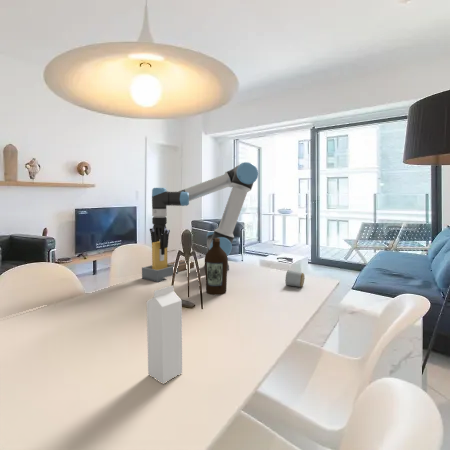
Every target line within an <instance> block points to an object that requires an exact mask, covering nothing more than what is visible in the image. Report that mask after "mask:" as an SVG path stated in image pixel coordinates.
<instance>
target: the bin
mask: <svg viewBox="0 0 450 450" xmlns="http://www.w3.org/2000/svg"><path fill="white" fill-rule="evenodd" d="M173 267H174V265H173V264H167V268H164V269H160V270H155V269H152V264H151V265H148V266H143V267H141V279H143V280H146V281H150V282H156V283H161V282H163V281H167V280H168V278H169V277H171V276H174V275H173ZM178 274H179V272H178V268H177V272H176V274H175V275H178Z"/></svg>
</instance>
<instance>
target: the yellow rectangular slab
mask: <svg viewBox="0 0 450 450" xmlns="http://www.w3.org/2000/svg"><path fill="white" fill-rule="evenodd" d="M159 249H160V241H159V242H153V243H152V242H151V258H152V259H151V260H152V261H151V262H152V263H151V265H152V269H155V270H160V269H164V268H167V263H168V247H167V248H165V255H164V260H163V261H160V258H159Z"/></svg>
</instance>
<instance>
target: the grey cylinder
mask: <svg viewBox="0 0 450 450" xmlns="http://www.w3.org/2000/svg"><path fill="white" fill-rule="evenodd" d="M284 280H285V283H284V284H285V286H290V287H298V288H301V287H302V288H303V286H304V284H305V274H304V272H301V271H297V270H291V269H288V270H287V271H286V274H285V279H284Z"/></svg>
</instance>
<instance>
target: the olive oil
mask: <svg viewBox="0 0 450 450" xmlns="http://www.w3.org/2000/svg"><path fill="white" fill-rule="evenodd" d="M228 259H229V258H228V256H227V254H226V253H225V252H224V251H223V249H222V248H221V247H220V238H213V246H212V248H211V249H210V250H209V251H208V252H207V251H206V254H205V256H204V265H205V268H204V272H205V273H204V274H205V293H206V294H209V295H212V296H219V295H223V294H226V293H227V281H228V280H227V279H228V271H227V266H228V265H229V260H228Z"/></svg>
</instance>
